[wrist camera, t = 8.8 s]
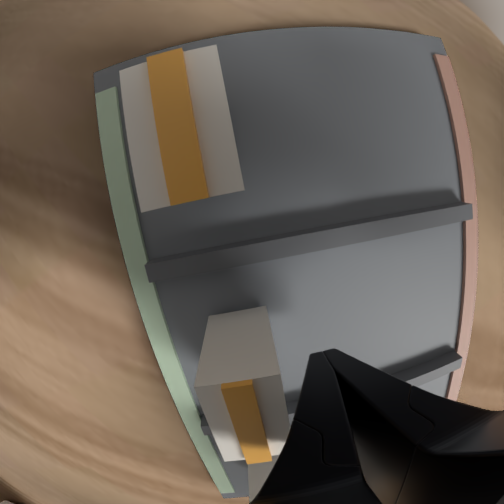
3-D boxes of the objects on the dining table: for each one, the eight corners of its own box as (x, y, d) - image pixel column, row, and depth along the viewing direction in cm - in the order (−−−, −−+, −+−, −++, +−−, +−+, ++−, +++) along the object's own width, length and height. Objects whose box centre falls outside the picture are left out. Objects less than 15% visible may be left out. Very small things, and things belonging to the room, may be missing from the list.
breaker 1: (225, 97, 9) (216, 40, 5) (242, 187, 9) (245, 190, 5) (164, 111, 9) (115, 67, 5) (180, 200, 9) (137, 213, 5)
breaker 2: (290, 438, 12) (304, 511, 8) (296, 471, 12) (308, 534, 8) (246, 445, 12) (250, 518, 8) (258, 477, 12) (263, 541, 8)
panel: (429, 45, 9) (450, 32, 7) (436, 431, 14) (448, 448, 12) (104, 80, 9) (83, 66, 8) (223, 486, 14) (223, 508, 12)
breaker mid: (266, 305, 10) (282, 379, 6) (278, 374, 11) (295, 456, 7) (208, 315, 10) (192, 392, 6) (227, 383, 11) (224, 466, 7)
